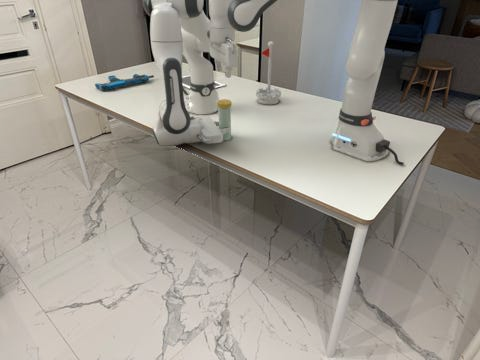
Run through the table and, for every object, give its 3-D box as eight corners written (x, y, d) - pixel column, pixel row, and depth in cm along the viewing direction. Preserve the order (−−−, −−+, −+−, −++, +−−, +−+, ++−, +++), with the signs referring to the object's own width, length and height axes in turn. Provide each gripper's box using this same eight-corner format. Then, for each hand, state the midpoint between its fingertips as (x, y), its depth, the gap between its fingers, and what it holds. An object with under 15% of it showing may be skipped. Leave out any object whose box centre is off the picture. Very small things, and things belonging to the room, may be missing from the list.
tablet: (169, 80, 212) (169, 79, 212) (195, 74, 223) (195, 73, 223) (198, 92, 192) (198, 92, 192) (226, 85, 203) (226, 84, 203)
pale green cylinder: (233, 137, 145) (232, 102, 136) (226, 141, 141) (225, 105, 133) (224, 134, 147) (223, 99, 138) (217, 138, 144) (215, 103, 135)
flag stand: (273, 95, 188) (277, 37, 172) (284, 103, 178) (289, 42, 162) (252, 98, 184) (253, 39, 168) (262, 106, 174) (264, 45, 158)
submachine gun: (139, 68, 224) (158, 74, 208) (140, 74, 226) (159, 81, 209) (87, 78, 206) (103, 86, 189) (89, 85, 208) (104, 93, 191)
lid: (234, 105, 137) (234, 101, 136) (225, 109, 133) (225, 105, 132) (222, 102, 140) (222, 98, 139) (214, 106, 136) (214, 102, 135)
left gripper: (200, 134, 128) (235, 129, 132) (188, 115, 144) (219, 110, 148) (201, 149, 131) (235, 143, 135) (189, 128, 147) (220, 124, 151)
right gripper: (242, 39, 115) (242, 80, 122) (220, 30, 131) (221, 66, 138) (224, 41, 113) (225, 82, 120) (205, 31, 128) (207, 68, 136)
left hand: (226, 126), depth 142 cm, fingers closed on pale green cylinder, 5 cm apart
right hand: (223, 73), depth 129 cm, fingers open, 8 cm apart
